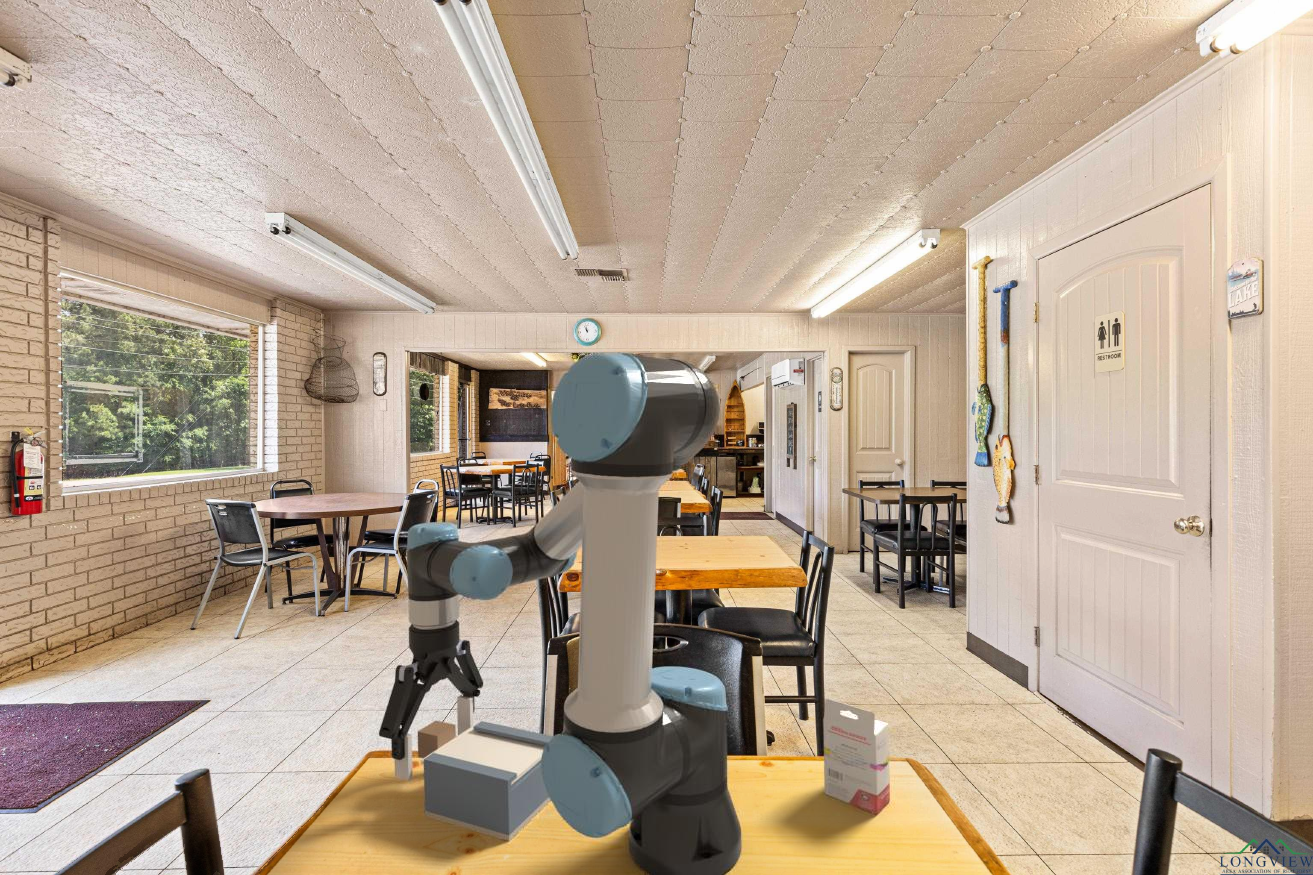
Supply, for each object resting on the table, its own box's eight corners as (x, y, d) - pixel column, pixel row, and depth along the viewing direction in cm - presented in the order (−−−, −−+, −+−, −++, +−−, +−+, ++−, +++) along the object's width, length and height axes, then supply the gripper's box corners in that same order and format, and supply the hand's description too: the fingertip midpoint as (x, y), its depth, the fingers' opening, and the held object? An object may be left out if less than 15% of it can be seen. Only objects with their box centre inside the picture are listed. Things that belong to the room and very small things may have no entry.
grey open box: (560, 790, 99) (559, 737, 99) (509, 841, 88) (507, 780, 87) (482, 771, 106) (481, 720, 105) (424, 815, 94) (423, 759, 93)
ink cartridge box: (891, 800, 95) (890, 702, 95) (877, 816, 92) (876, 714, 92) (838, 779, 101) (837, 687, 101) (822, 793, 98) (821, 697, 97)
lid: (553, 758, 99) (553, 732, 99) (509, 796, 89) (509, 768, 89) (451, 735, 107) (451, 711, 107) (400, 767, 97) (400, 741, 97)
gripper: (468, 598, 113) (470, 717, 114) (350, 644, 91) (353, 791, 91) (503, 603, 110) (504, 724, 111) (389, 651, 88) (392, 804, 88)
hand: (436, 755), depth 101 cm, fingers open, 13 cm apart
